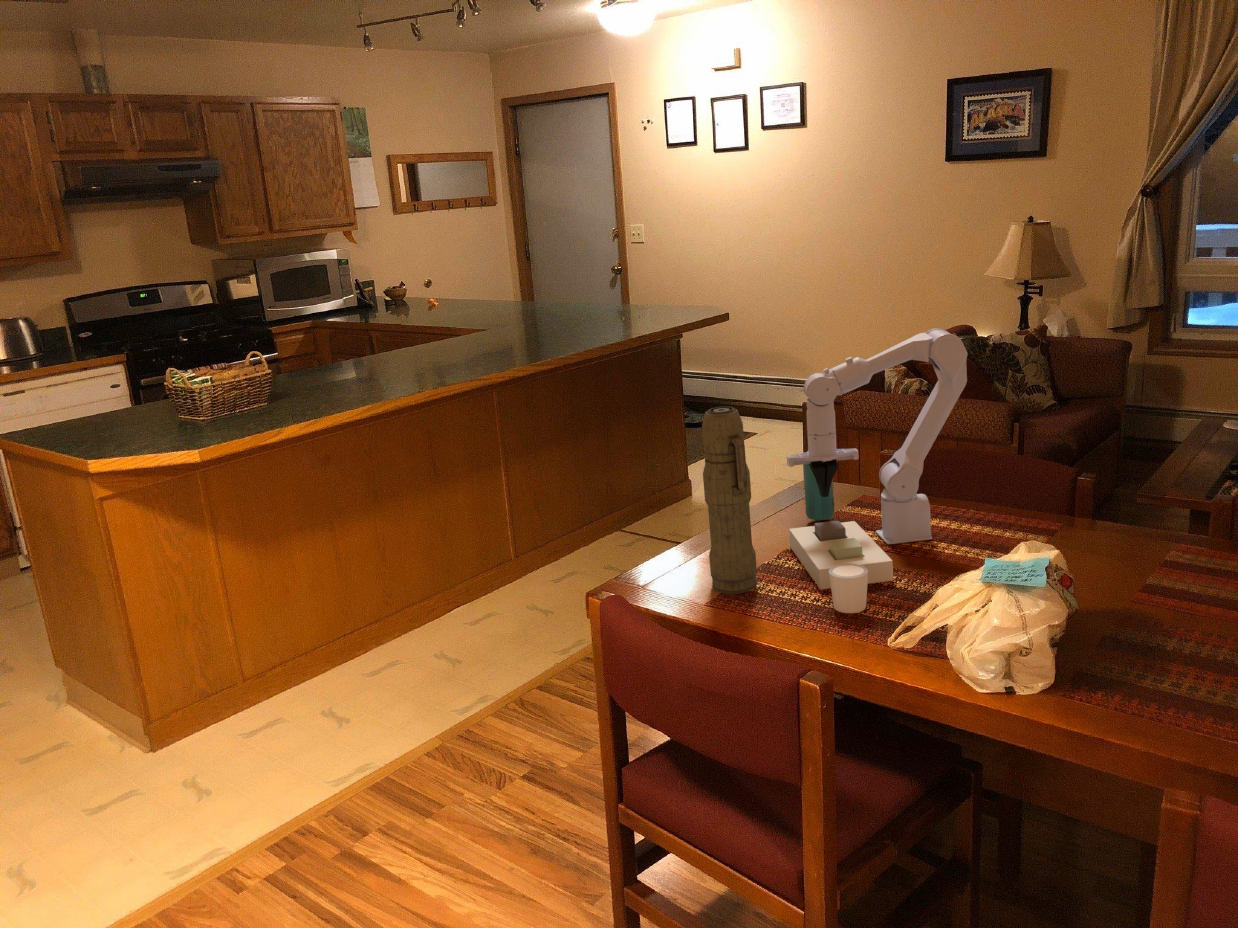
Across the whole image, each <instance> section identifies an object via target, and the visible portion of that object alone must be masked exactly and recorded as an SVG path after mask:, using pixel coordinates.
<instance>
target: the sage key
mask: <svg viewBox="0 0 1238 928" xmlns="http://www.w3.org/2000/svg"><path fill="white" fill-rule="evenodd" d="M829 550H830V554H831V556H832V557H833V558H834V559H835V560H842V559H851V558H859V557H862V546H861V545H860V544H859V543H858V541H857V540H856V539H855V538H849V539H841V540H832V541H829Z"/></svg>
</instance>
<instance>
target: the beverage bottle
mask: <svg viewBox="0 0 1238 928" xmlns="http://www.w3.org/2000/svg"><path fill="white" fill-rule="evenodd" d="M805 444H806V447H807V448H808V436H806V443H805ZM806 452H808V450H807V451H806ZM802 467H803V486H804V487H803V490H804V494H803V495H804V503H805V515H806V517H807V518H808V519H809V520H812V521H813V520H814V521H823V520H824V521H825V520H830V519H832V518H834V517H835V513H836V508H835V496H834V487H835V486H834V479H833V480H832V483H831V486H830V490H829V496H828V497H822V496H821V495H820V493H819V488H818V485H817V482H816V479H815V477H814V474H813V472H812V470H811V469H810V467H809V465H808V464H803V465H802Z"/></svg>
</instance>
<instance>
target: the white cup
mask: <svg viewBox="0 0 1238 928" xmlns="http://www.w3.org/2000/svg"><path fill="white" fill-rule="evenodd" d="M829 577H830V584H831V588H830V590H831V595H832V596H831V597H832V602H833V603H832V604H833V608H834V610H836V611H837V612H839V613H844V614H856V613H861V612H862V611H864V610H866V608H867V600H868V599H867V595H868V584H867V582H868V570H867V568H866V567H864V566H861V565H858V564H841V565H836V566H834V567H831V568H830V569H829Z"/></svg>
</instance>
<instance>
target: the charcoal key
mask: <svg viewBox="0 0 1238 928" xmlns="http://www.w3.org/2000/svg"><path fill="white" fill-rule="evenodd" d="M841 523H842V522H841V521H839V520H831V521H822V522H815V523H814V526H815V536H816V537H817V538H818V539H819V541H827V540H835V539H843V538H846V530H845V527H844V526H843V525H842V524H841Z"/></svg>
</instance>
